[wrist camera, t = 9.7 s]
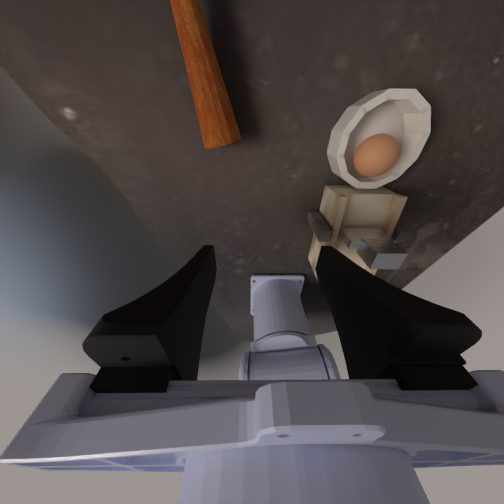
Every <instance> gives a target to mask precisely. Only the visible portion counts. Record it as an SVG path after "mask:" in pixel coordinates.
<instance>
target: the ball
mask: <svg viewBox="0 0 504 504" xmlns="http://www.w3.org/2000/svg"><path fill="white" fill-rule="evenodd" d="M399 151H400V148H399V144H398V141H397V140H396V139H395V138H394V137H393V136H391V135H389V134H376V135H373V136H371V137H369V138H367V139H366V140H364V141H363V142H362V143H361V144H360V145H359V146H358V148H357V150H356V152H355V154H354V159H353V163H354V167H355V169H356V170H357V172H358V173H360V174H361V175H363V176H367V177H374V176H379V175H381V174H383V173H385V172H387V171H388V170H389V169H390V168H391V167H392V166H393V165H394V164H395V162H396V161H397V159H398V156H399Z"/></svg>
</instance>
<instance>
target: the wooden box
mask: <svg viewBox="0 0 504 504" xmlns="http://www.w3.org/2000/svg"><path fill="white" fill-rule="evenodd" d="M407 198H408V197H406V196H403V195H400V194H396V193H394V192H392V191H390V190H388V189H387V188H385V187H383V186H380V187H378V188H376V189H364V188H355V187H353V186H352V185H325V189H324V193H323V197H322V201H321V205H320V210H319V213H318V211H317V210H308V214H307V219H306V220H307V221H308V223H309V225H310V227H311V228H312V230H313V232H314V235H313V239H312V243H311V248H310V252H309V256H308V259H309V262H310V264H311V266H312V269H313V271H314V272H315V276H316V278H317V275H316V271H315V267H316V264H317V260H318V256H319V253H320V249H321V246H332V247H334V248H335V249H337V250H338V251H339V252H341V253H342V254H344V255H345V256H346V257H348V258H349V259H350V260H352V261H353V262H355V263H356V264H357V265H359V266H360V267H362V268H363V269H365V270H366V271H368V272H370V273H371V274H373V275H374V276H375V273H376V271H377V269H369V268H368V266H367V265H366V264H365V263H364V261H363V260H362V259H361V258H360V256H359V255H358V254H357V253H356V251H357V249H349V248H348V247H347V245H346V244H345V243H344V241H343V240H342V239H341V237H340V236H339V235H338V234H339V231H340V228H381V229H382V230H383V231H384V232H385V233H387V234H388V235H389V236H390V237H391V238H393V239H394V240H395V241H396V242H405V241H406V239H407V238H408V236H409V234H410V232H411V231H409V230H408V229H407V228H405V227H404V226H402V225H401V224H399V223H398V219H399V217H400V215H401V212H402V210H403V208H404V205H405V203H406V201H407ZM317 280H318V278H317Z"/></svg>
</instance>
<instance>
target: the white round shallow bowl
mask: <svg viewBox="0 0 504 504" xmlns="http://www.w3.org/2000/svg"><path fill="white" fill-rule="evenodd" d="M430 132H431V106H430V104H429V103H428V102H427V101H426V100H425V99H424V98H423V96H422V95H421V94H420V93H419V92H418V91H417V90H416V89H386V90H381V91H377V92H372V93H370V94H368V95H367V96H365V97H363V98H362V99H360V100H359V101H357V102H355V103H354V104H352V105H350V106H349V107H348V108H347V109H346V111H345V112H344V113H343V115H342V116H341V118H340V119H339V121H338V122H337V123H336V125H335V126H334V128H333V129H332V132H331V137H330V141H329V146H328V150H327V156H328V159H329V163H330V166H331V170H332V172H333V173H335V174H336V175H337V176H339V177H340V178H341V179H343V180H344V181H345V182H347V183H349V184H350V185H352V186H353V187H355V188H364V189H376V188H378V187H380V186H383V185H385V184H387V183H389V182H391V181H393V180H395V179H397V178H399V177H400V176H401V175H402V174H403V173H404V172H405V171H406V170H407V169H408V168H409V167H410V166H411V165H412V164H413V163H414V162H415V161H416V160H417V159H418V157H419V155H420V153H421V151H422V149H423V147H424V145H425V143H426V141H427V139H428V137H429V135H430ZM376 134H389V135H391V136H393V137H394V138H395V139H396V140H397V141H398V144H399V148H400V151H399V156H398V159H397V161H396V162H395V164H394V165H393V166H392V167H391V168H390V169H389V170H388V171H387V172H385V173H383V174H381V175H379V176H374V177H367V176H363V175H361V174H360V173H358V172H357V170H356V169H355V167H354V163H353V159H354V154H355V152H356V150H357V148H358V146H359V145H360V144H361V143H362V142H363V141H364V140H366V139H367V138H369V137H371V136H373V135H376Z"/></svg>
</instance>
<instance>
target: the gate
mask: <svg viewBox="0 0 504 504" xmlns="http://www.w3.org/2000/svg"><path fill="white" fill-rule="evenodd" d="M338 235H339V236H340V237H341V239H342V240H343V241H344V243H345V244H346V245H347V247H348V248H349V249H357V251H356V253H357V254H358V255H359V256H360V258H361V259H362V260H363V261H364V263H365V264H366V265H367V266H368V268H369V269H399V267H400V266H401V264H402V263H403V261H404V259H405V258H406V256H407V255H408V253H407V252H406V251H404V250H403V249H402V248H401V247H400V246H398V245H397V244H396V243H395V242H396V241H395V240H394V239H393V238H391V237H390V236H389V235H388V234H387V233H385V232H384V231H383V230H382V229H381V228H340V231H339V234H338Z"/></svg>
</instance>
